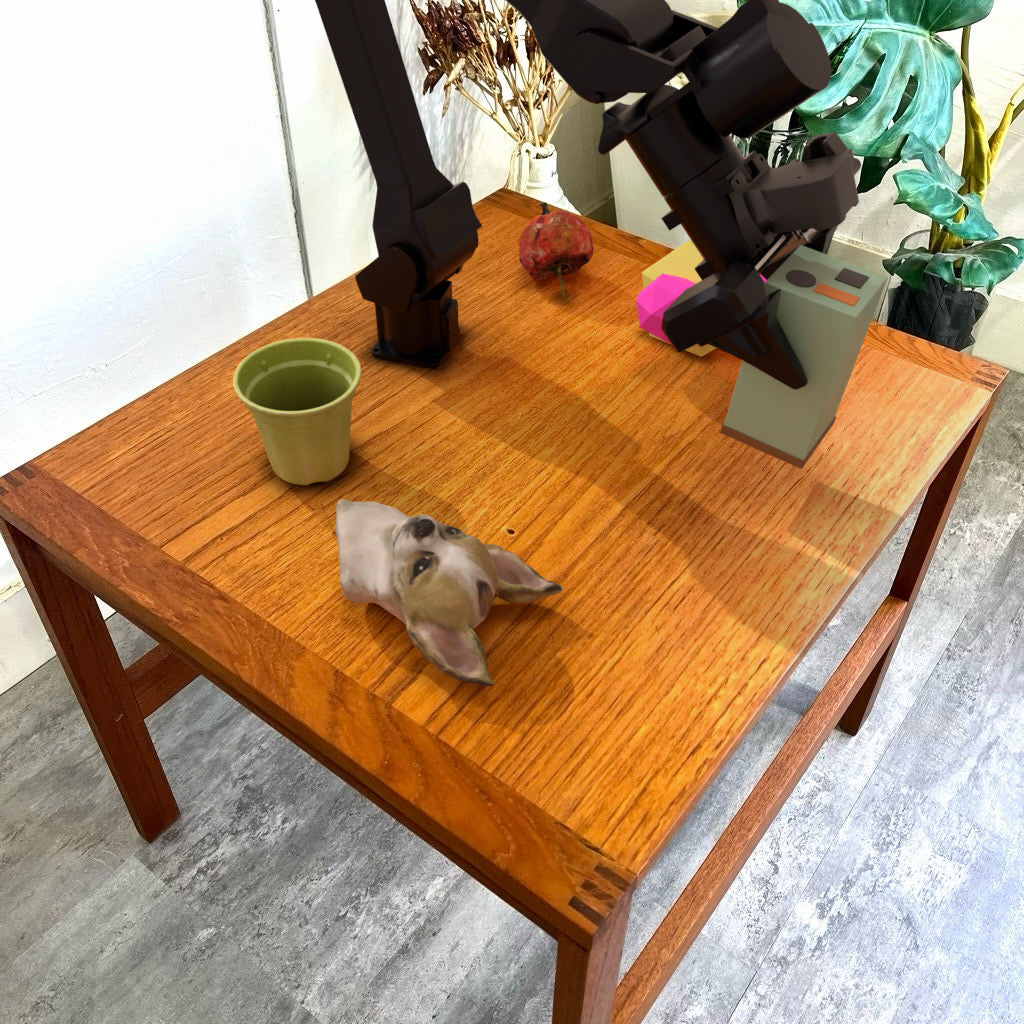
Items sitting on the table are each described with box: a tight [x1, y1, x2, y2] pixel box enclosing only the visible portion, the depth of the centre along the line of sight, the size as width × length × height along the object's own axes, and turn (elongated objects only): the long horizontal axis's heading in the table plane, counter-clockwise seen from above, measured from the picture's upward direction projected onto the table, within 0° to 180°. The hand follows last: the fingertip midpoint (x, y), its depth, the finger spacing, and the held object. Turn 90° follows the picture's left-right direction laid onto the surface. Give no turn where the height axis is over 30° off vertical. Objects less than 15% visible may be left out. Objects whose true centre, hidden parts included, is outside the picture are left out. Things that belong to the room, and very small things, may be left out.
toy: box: [635, 239, 766, 358], centre depth 93 cm, size 10×18×10 cm, turn 143°
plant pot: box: [232, 337, 362, 486], centre depth 79 cm, size 9×9×9 cm
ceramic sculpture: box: [335, 498, 564, 687], centre depth 68 cm, size 11×9×15 cm
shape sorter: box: [719, 245, 889, 470], centre depth 73 cm, size 7×7×13 cm
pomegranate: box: [518, 201, 595, 300], centre depth 101 cm, size 7×7×10 cm
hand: (820, 361), depth 72 cm, fingers closed on shape sorter, 7 cm apart
